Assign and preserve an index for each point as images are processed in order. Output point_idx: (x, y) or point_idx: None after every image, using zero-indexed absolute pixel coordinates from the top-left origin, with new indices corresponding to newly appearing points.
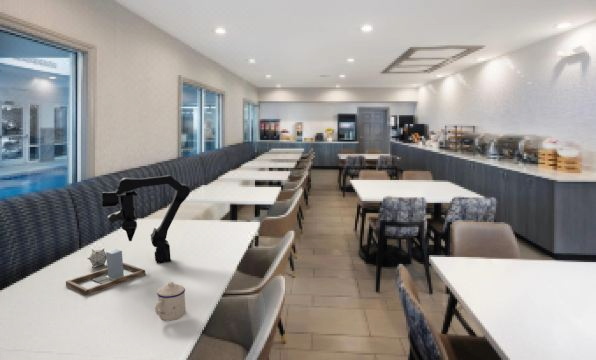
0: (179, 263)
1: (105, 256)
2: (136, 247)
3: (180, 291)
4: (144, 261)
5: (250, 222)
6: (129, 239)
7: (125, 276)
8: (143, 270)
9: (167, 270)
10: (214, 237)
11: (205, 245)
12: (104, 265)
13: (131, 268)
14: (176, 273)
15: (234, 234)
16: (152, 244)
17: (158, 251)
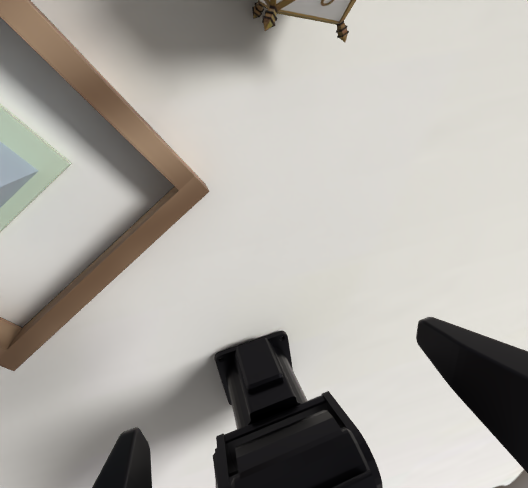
0: (195, 436)
1: (274, 3)
2: (519, 183)
3: None
4: (275, 280)
5: (517, 472)
6: (110, 475)
7: None
8: (3, 365)
9: (95, 425)
10: (451, 438)
11: (384, 443)
12: (256, 12)
13: (99, 261)
14: (41, 473)
15: (444, 475)
16: (237, 462)
17: (246, 413)
